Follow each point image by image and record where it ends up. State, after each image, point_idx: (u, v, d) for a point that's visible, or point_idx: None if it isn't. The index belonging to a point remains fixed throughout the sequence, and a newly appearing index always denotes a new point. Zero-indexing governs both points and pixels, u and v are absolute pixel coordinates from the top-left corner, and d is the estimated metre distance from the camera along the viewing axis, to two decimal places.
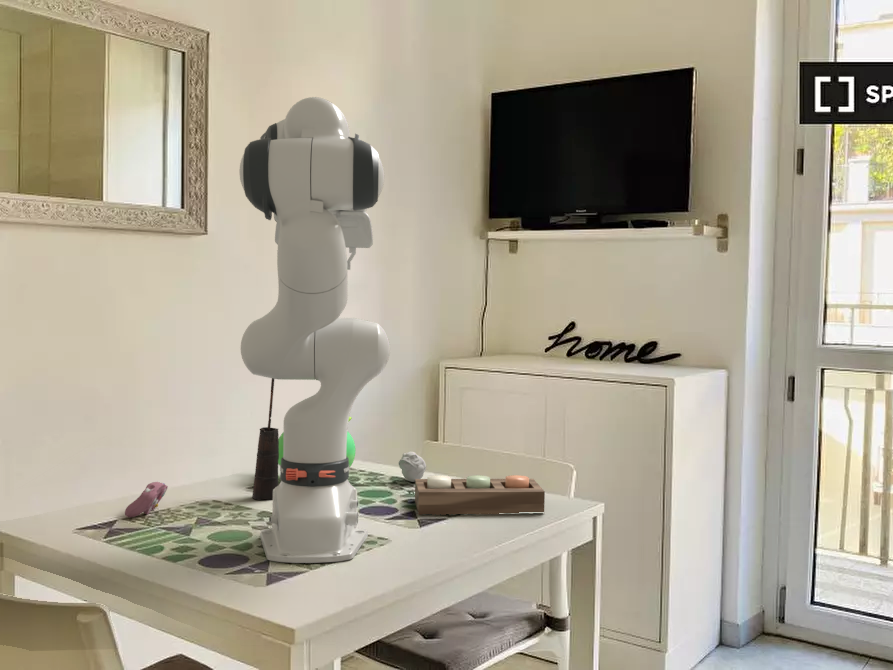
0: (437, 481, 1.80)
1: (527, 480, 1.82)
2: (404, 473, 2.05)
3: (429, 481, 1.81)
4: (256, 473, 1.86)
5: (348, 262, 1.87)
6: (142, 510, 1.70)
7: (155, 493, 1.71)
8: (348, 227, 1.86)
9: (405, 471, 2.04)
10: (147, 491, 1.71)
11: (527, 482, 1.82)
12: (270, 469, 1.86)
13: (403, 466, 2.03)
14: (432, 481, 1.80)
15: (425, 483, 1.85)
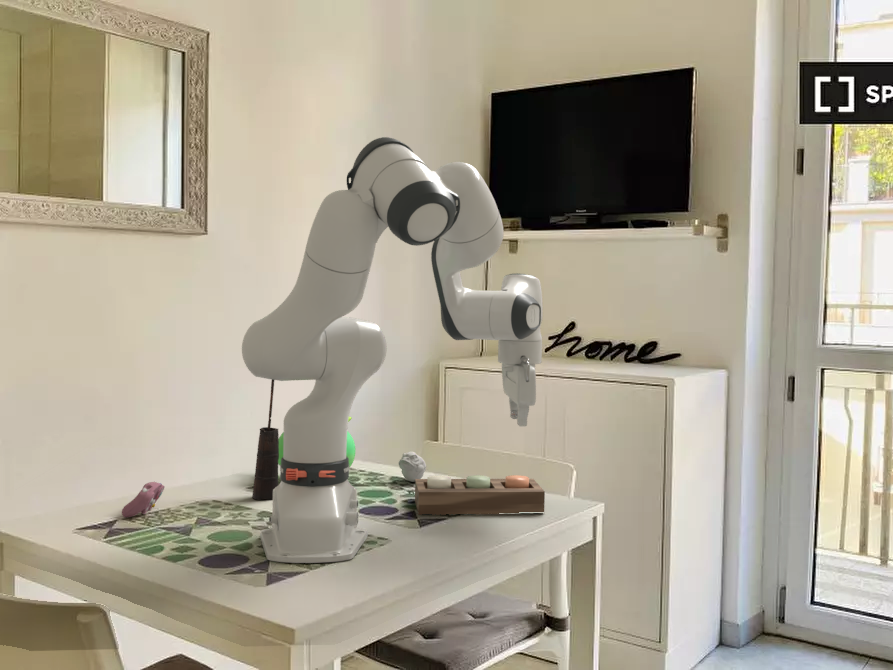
0: (437, 481, 1.80)
1: (527, 480, 1.82)
2: (404, 473, 2.05)
3: (429, 481, 1.81)
4: (256, 473, 1.86)
5: None
6: (139, 510, 1.70)
7: (152, 493, 1.71)
8: None
9: (405, 471, 2.04)
10: (144, 491, 1.71)
11: (527, 482, 1.82)
12: (270, 469, 1.86)
13: (403, 466, 2.03)
14: (432, 481, 1.80)
15: (425, 483, 1.85)
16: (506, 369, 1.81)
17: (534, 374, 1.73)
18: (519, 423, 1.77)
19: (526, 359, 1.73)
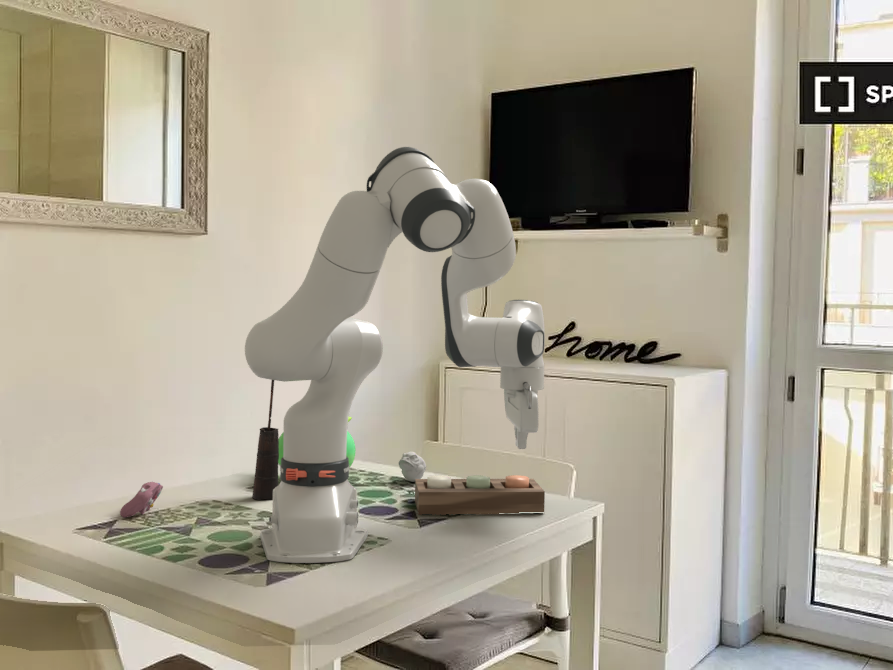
0: (437, 481, 1.80)
1: (527, 480, 1.82)
2: (404, 473, 2.05)
3: (429, 481, 1.81)
4: (256, 473, 1.86)
5: None
6: (137, 510, 1.70)
7: (150, 493, 1.71)
8: None
9: (405, 471, 2.04)
10: (142, 491, 1.71)
11: (527, 482, 1.82)
12: (270, 469, 1.86)
13: (403, 466, 2.03)
14: (432, 481, 1.80)
15: (425, 483, 1.85)
16: (508, 395, 1.81)
17: (536, 401, 1.73)
18: (518, 446, 1.81)
19: (528, 386, 1.73)
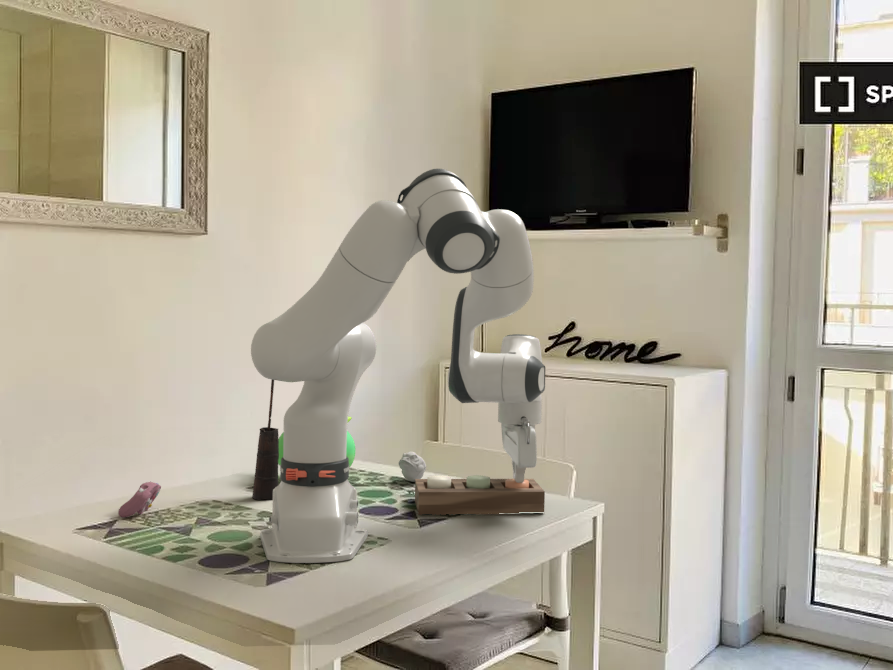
0: (437, 481, 1.80)
1: (527, 483, 1.83)
2: (404, 473, 2.05)
3: (429, 481, 1.81)
4: (256, 473, 1.86)
5: None
6: (136, 510, 1.70)
7: (149, 493, 1.71)
8: None
9: (405, 471, 2.04)
10: (141, 491, 1.71)
11: (527, 485, 1.83)
12: (270, 469, 1.86)
13: (403, 466, 2.03)
14: (432, 481, 1.80)
15: (425, 483, 1.85)
16: (506, 429, 1.81)
17: (535, 436, 1.74)
18: (516, 479, 1.82)
19: (527, 421, 1.74)
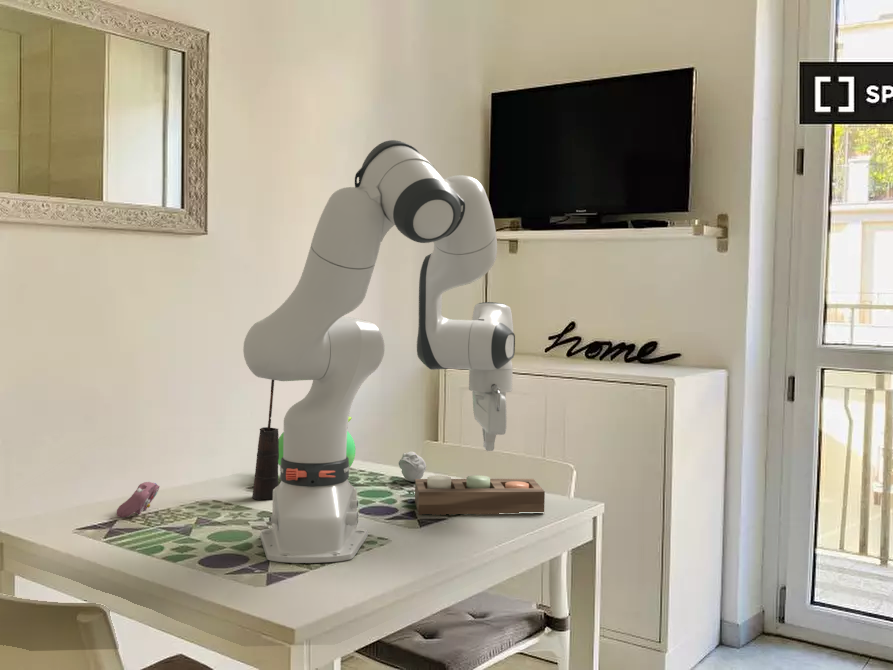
0: (437, 481, 1.80)
1: (527, 486, 1.83)
2: (404, 473, 2.05)
3: (429, 481, 1.81)
4: (256, 473, 1.86)
5: None
6: (134, 510, 1.70)
7: (147, 493, 1.71)
8: None
9: (405, 471, 2.04)
10: (139, 491, 1.71)
11: None
12: (270, 469, 1.86)
13: (403, 466, 2.03)
14: (432, 481, 1.80)
15: (425, 483, 1.85)
16: (477, 397, 1.81)
17: (505, 403, 1.74)
18: (486, 447, 1.82)
19: (497, 388, 1.74)
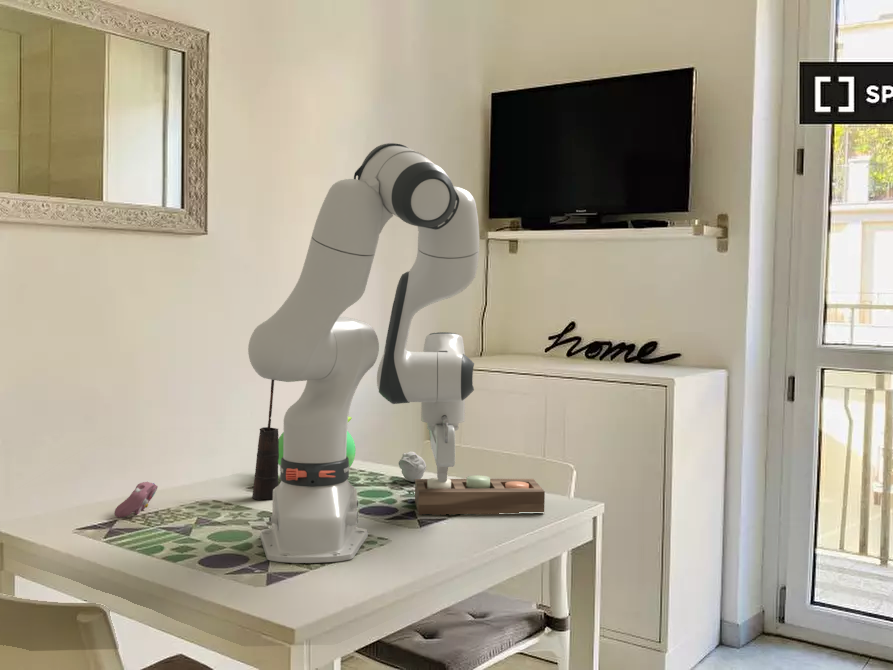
0: (437, 483, 1.80)
1: (527, 486, 1.83)
2: (404, 473, 2.05)
3: (429, 483, 1.81)
4: (256, 473, 1.86)
5: None
6: (132, 510, 1.70)
7: (145, 493, 1.71)
8: None
9: (405, 471, 2.04)
10: (137, 491, 1.71)
11: None
12: (270, 469, 1.86)
13: (403, 466, 2.03)
14: (432, 483, 1.80)
15: (425, 483, 1.85)
16: (429, 428, 1.80)
17: (453, 435, 1.72)
18: (439, 479, 1.80)
19: (445, 420, 1.72)
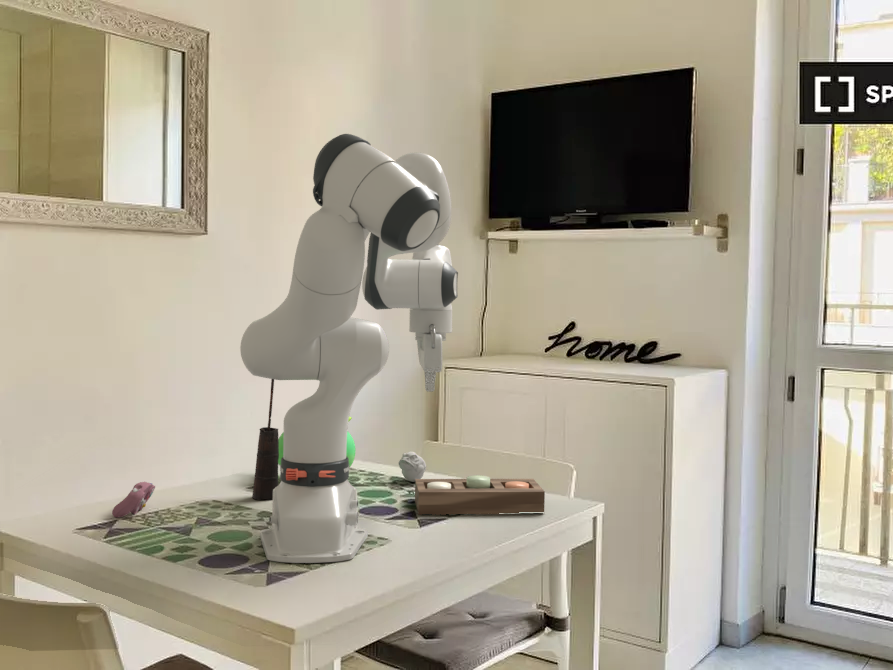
0: (437, 487, 1.80)
1: (527, 486, 1.83)
2: (404, 473, 2.05)
3: (429, 487, 1.81)
4: (256, 473, 1.86)
5: None
6: (129, 510, 1.70)
7: (142, 493, 1.71)
8: None
9: (405, 471, 2.04)
10: (134, 491, 1.71)
11: None
12: (270, 469, 1.86)
13: (403, 466, 2.03)
14: (432, 487, 1.80)
15: (425, 483, 1.85)
16: (417, 338, 1.84)
17: (440, 341, 1.76)
18: (427, 388, 1.84)
19: (432, 326, 1.77)
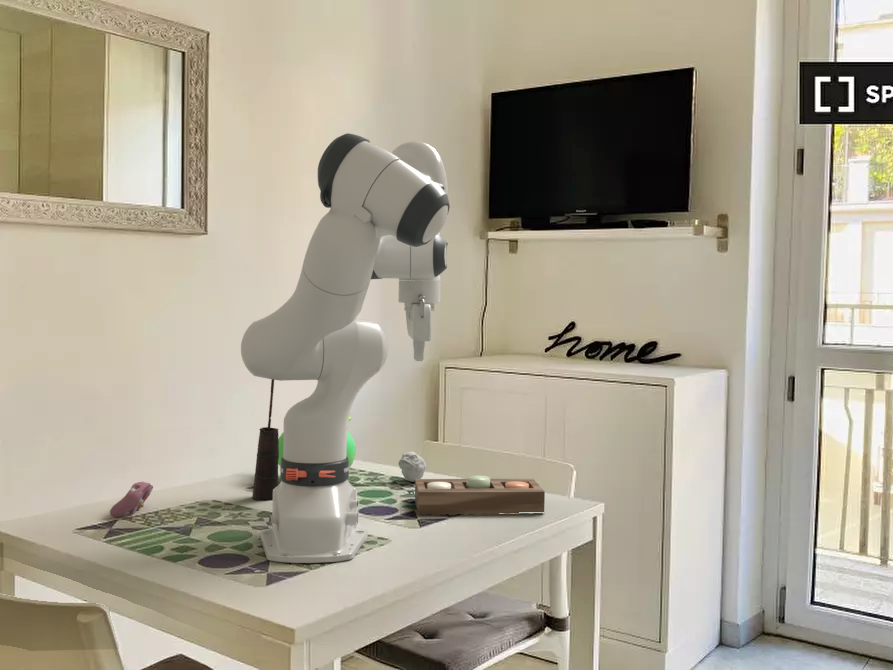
0: (437, 487, 1.80)
1: (527, 486, 1.83)
2: (404, 473, 2.05)
3: (429, 487, 1.81)
4: (256, 473, 1.86)
5: None
6: (127, 510, 1.70)
7: (140, 493, 1.71)
8: None
9: (405, 471, 2.04)
10: (132, 491, 1.71)
11: None
12: (270, 469, 1.86)
13: (403, 466, 2.03)
14: (432, 487, 1.80)
15: (425, 483, 1.85)
16: (406, 308, 1.87)
17: (429, 311, 1.80)
18: (416, 358, 1.88)
19: (422, 296, 1.80)
